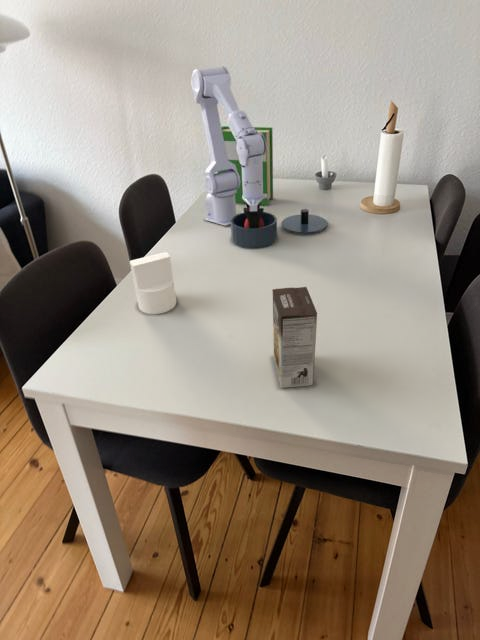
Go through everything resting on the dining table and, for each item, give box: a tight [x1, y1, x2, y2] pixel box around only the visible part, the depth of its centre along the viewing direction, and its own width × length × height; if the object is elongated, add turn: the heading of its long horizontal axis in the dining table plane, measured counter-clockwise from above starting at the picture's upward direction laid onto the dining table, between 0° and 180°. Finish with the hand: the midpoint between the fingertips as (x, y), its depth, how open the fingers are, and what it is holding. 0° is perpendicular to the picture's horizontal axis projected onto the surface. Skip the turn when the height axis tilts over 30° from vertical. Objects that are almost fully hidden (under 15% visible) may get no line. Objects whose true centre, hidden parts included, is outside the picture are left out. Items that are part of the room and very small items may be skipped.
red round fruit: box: [244, 218, 264, 228], centre depth 139 cm, size 6×6×8 cm
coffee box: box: [272, 286, 318, 389], centre depth 86 cm, size 9×6×16 cm
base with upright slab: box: [129, 251, 177, 315], centre depth 110 cm, size 9×9×12 cm
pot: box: [230, 211, 278, 250], centre depth 140 cm, size 13×13×6 cm
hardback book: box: [216, 125, 274, 207], centre depth 162 cm, size 18×7×24 cm, turn 70°
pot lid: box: [280, 208, 329, 235], centre depth 146 cm, size 14×14×5 cm
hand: (254, 225), depth 139 cm, fingers open, 7 cm apart
